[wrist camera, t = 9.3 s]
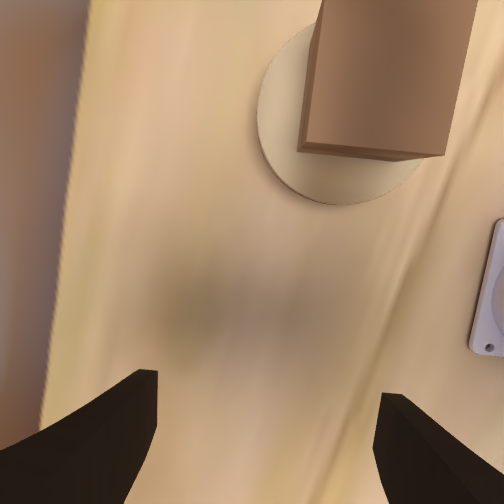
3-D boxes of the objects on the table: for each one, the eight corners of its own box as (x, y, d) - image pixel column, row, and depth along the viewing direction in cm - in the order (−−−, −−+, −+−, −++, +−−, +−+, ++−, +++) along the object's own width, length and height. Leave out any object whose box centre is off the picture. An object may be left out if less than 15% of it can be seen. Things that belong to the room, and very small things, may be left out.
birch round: (428, 59, 18) (466, 31, 14) (386, 213, 19) (410, 221, 16) (275, 30, 18) (276, -5, 14) (246, 186, 19) (241, 187, 16)
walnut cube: (415, 53, 14) (478, -2, 10) (395, 162, 15) (444, 155, 11) (309, 43, 15) (326, -15, 10) (296, 152, 16) (306, 141, 11)
